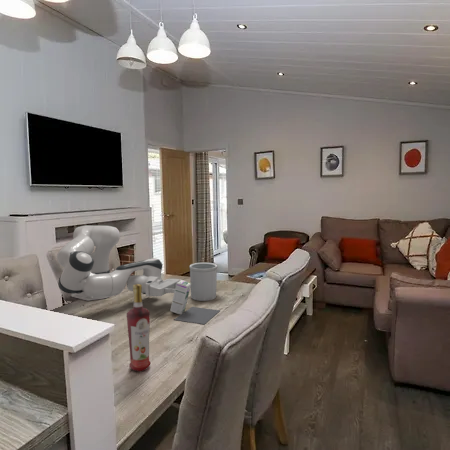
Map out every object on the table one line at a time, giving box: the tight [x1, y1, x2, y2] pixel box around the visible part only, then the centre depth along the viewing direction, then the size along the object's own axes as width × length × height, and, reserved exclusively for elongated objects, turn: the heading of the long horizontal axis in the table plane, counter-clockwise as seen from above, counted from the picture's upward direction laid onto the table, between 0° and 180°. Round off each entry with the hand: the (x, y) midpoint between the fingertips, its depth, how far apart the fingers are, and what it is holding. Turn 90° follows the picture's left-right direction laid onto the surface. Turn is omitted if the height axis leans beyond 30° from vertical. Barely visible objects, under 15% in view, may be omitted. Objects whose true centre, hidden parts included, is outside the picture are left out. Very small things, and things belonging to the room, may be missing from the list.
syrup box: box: [169, 279, 191, 316], centre depth 166 cm, size 6×6×14 cm
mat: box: [173, 306, 221, 326], centre depth 163 cm, size 15×18×1 cm
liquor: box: [126, 284, 152, 372], centre depth 114 cm, size 7×7×28 cm
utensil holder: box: [189, 262, 218, 302], centre depth 190 cm, size 15×15×18 cm
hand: (179, 288), depth 170 cm, fingers open, 8 cm apart
